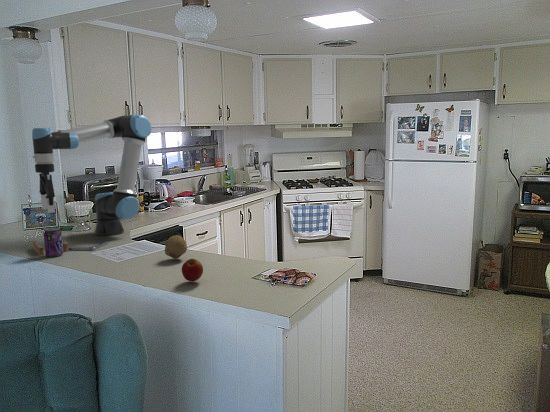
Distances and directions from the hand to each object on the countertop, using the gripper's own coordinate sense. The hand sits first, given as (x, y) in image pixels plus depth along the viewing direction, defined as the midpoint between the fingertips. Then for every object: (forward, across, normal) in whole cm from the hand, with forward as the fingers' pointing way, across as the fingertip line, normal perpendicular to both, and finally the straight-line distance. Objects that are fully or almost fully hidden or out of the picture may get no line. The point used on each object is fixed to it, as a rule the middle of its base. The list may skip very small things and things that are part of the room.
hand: (48, 210), depth 205 cm
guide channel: (+19, -4, 0) cm, 19 cm away
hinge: (+19, +8, +16) cm, 26 cm away
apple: (+19, +79, +31) cm, 87 cm away
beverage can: (+19, +8, 0) cm, 21 cm away
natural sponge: (+19, +48, +40) cm, 65 cm away
